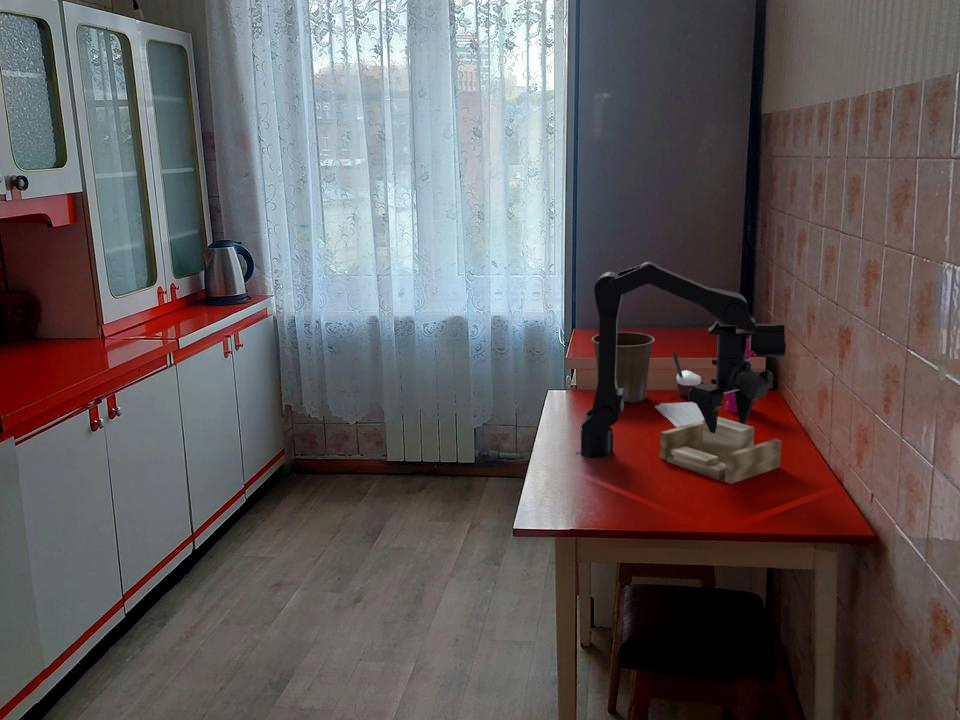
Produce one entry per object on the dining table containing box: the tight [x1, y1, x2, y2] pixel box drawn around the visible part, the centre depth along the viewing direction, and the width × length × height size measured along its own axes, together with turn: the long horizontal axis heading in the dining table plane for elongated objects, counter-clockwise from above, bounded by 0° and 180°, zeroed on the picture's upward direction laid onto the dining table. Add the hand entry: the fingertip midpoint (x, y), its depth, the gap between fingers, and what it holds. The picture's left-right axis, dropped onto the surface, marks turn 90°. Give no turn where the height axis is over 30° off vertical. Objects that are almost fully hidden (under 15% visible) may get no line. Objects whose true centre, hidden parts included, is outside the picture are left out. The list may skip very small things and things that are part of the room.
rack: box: [659, 421, 782, 485], centre depth 191 cm, size 15×19×6 cm
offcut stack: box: [666, 446, 726, 482], centre depth 188 cm, size 4×14×3 cm, turn 35°
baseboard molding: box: [650, 397, 704, 428], centre depth 220 cm, size 31×3×12 cm
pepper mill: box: [724, 338, 754, 414], centre depth 228 cm, size 7×7×20 cm
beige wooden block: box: [702, 416, 755, 464], centre depth 192 cm, size 4×10×8 cm, turn 35°
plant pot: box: [591, 331, 656, 404], centre depth 241 cm, size 16×16×16 cm
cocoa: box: [671, 351, 705, 398], centre depth 243 cm, size 10×6×12 cm, turn 86°
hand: (727, 428), depth 192 cm, fingers open, 9 cm apart
